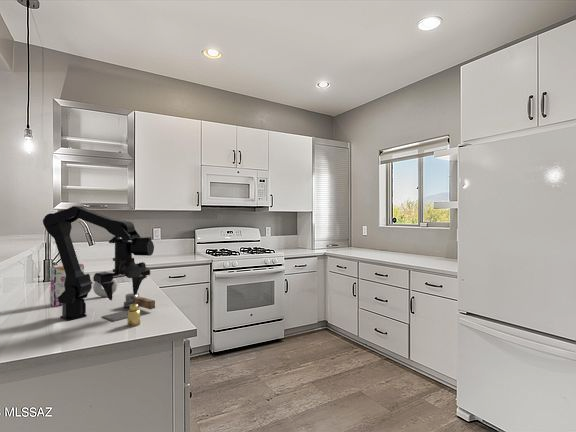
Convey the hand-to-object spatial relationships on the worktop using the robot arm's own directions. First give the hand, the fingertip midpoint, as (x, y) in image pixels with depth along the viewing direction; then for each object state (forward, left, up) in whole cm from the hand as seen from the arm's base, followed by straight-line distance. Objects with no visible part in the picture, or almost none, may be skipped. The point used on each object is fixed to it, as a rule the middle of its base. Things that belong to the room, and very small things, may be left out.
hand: (123, 297), depth 121 cm
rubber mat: (0, +3, -8) cm, 8 cm away
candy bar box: (-3, +38, -8) cm, 39 cm away
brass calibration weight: (-2, -10, -8) cm, 13 cm away
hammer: (+10, +5, -7) cm, 13 cm away
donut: (+12, +36, -8) cm, 39 cm away
